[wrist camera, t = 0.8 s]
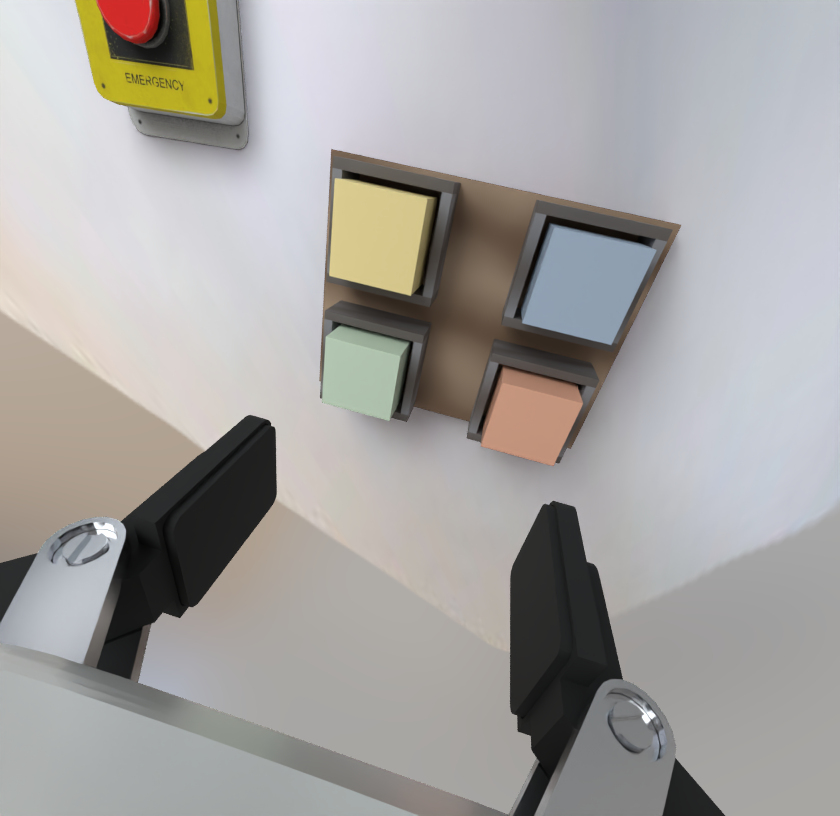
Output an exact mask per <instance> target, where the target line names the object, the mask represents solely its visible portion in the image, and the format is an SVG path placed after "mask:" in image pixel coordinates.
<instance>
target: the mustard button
mask: <svg viewBox="0 0 840 816" xmlns="http://www.w3.org/2000/svg"><path fill="white" fill-rule="evenodd" d="M437 200H438V198H436V197H432V196H427V195H423V194H418V193H414V192H409V191H405V190H400V189H396V188H391V187H387V186H382V185H378V184H373V183H369V182H364V181H360V180H353V179H339V178H335V183H334V201H333V218H332V236H331V253H330V271H329V276H332V277H336V278H340V279H344V280H348V281H353V282H357V283H361V284H365V285H369V286H373V287H377V288H381V289H385V290H389V291H393V292H397V293H401V294H405V295H410V296H411V295H412V294H413V293H414V292H415V291H416V290H417V289H418V288H419V287H420V286H421V285H422V282H423V276H424V271H425V265H426V260H427V254H428V249H429V244H430V238H431V233H432V227H433V222H434V216H435V211H436V205H437Z"/></svg>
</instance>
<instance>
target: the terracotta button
mask: <svg viewBox="0 0 840 816" xmlns="http://www.w3.org/2000/svg"><path fill="white" fill-rule="evenodd" d="M582 405H583V401H582V398H581V396H580V393H579V390H578V387H577V384H576V383H574V382H570V381H566V380H562V379H558V378H554V377H550V376H546V375H542V374H538V373H534V372H531V371H527V370H523V369H519V368H515V367H511V366H507V365H503V364H502V367H501V370H500V374H499V377H498V380H497V383H496V386H495V389H494V392H493V395H492V398H491V401H490V404H489V407H488V410H487V413H486V416H485V419H484V423H483V432H482V440H481V446H482V447H485V448H489V449H493V450H496V451H500V452H504V453H507V454H511V455H515V456H518V457H522V458H526V459H529V460H533V461H536V462H540V463H544V464H547V465H551V466H554V464H555V461H556V459H557V457H558V455H559V453H560V451H561V449H562V447H563V445H564V443H565V441H566V439H567V436H568V434H569V432H570V430H571V428H572V426H573V424H574V422H575V420H576V418H577V416H578V413H579V411H580V409H581V407H582Z"/></svg>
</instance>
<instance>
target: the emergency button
mask: <svg viewBox="0 0 840 816" xmlns="http://www.w3.org/2000/svg"><path fill="white" fill-rule="evenodd" d="M75 3H76V7H77V11H78V16H79V20H80V24H81V29H82V33H83V37H84V41H85V46H86V50H87V54H88V59H89V63H90V67H91V71H92V76H93V80H94V84H95V86H96V88H97V91H98V92H99V93H100V94H101V96H102V97H103V98H105V99H107V100H109V101H112V102H114V103H116V104H119V105H124V106H127V107H128V110H129V115H130V117H131V120H132V123H133V125H134V126H135V127H136V129H137V130H138V131H139V132H141V133H143V134H146V135H152V136H158V137H164V138H170V139H176V140H182V141H188V142H195V143H201V144H207V145H213V146H219V147H225V148H231V149H242V148H244V147H245V145H246V144H247V142H248V134H249V131H248V118H247V105H246V92H245V79H244V66H243V53H242V40H241V27H240V13H239V0H75Z"/></svg>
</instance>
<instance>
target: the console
mask: <svg viewBox="0 0 840 816" xmlns="http://www.w3.org/2000/svg"><path fill="white" fill-rule="evenodd" d="M335 178H339V179H353V180H360V181H364V182H369V183H373V184H378V185H382V186H387V187H391V188H396V189H400V190H405V191H409V192H414V193H418V194H423V195H427V196H432V197H436V198H438V200H437V205H436V211H435V216H434V222H433V227H432V233H431V238H430V244H429V249H428V254H427V260H426V265H425V271H424V276H423V282H422V285H421V286H420V287H419V288H418V289H417V290H416V291H415V292H414V293H413V294H412V295H411V296H410V295H405V294H401V293H397V292H393V291H389V290H385V289H381V288H377V287H373V286H369V285H365V284H361V283H357V282H353V281H348V280H344V279H340V278H336V277H332V276H329V271H330V253H331V236H332V218H333V201H334V183H335ZM549 223H553V224H558V225H562V226H567V227H571V228H576V229H580V230H585V231H589V232H594V233H598V234H603V235H607V236H612V237H616V238H621V239H625V240H630V241H634V242H638V243H641V244H643V245H646V246H648V247H651V248H653V249H655V250H657V251H656V253H655V255H654V257H653V259H652V261H651V263H650V265H649V267H648V269H647V271H646V274H645V276H644V278H643V280H642V282H641V284H640V286H639V288H638V290H637V292H636V294H635V297H634V299H633V301H632V303H631V305H630V307H629V309H628V311H627V313H626V315H625V317H624V319H623V322H622V324H621V326H620V328H619V330H618V332H617V334H616V336H615V338H614V340H613V342H612V345H609V344H605V343H601V342H597V341H593V340H589V339H585V338H581V337H577V336H572V335H568V334H564V333H560V332H556V331H552V330H548V329H544V328H540V327H536V326H532V325H528V324H524V323H522V314H521V306H522V303H523V300H524V297H525V294H526V291H527V288H528V285H529V282H530V279H531V276H532V273H533V270H534V267H535V264H536V261H537V258H538V255H539V252H540V248H541V245H542V242H543V239H544V236H545V233H546V230H547V227H548V224H549ZM680 227H681V225H679V224H674V223H670V222H665V221H661V220H656V219H651V218H647V217H642V216H637V215H633V214H628V213H624V212H619V211H614V210H610V209H605V208H601V207H596V206H591V205H587V204H582V203H577V202H573V201H568V200H564V199H559V198H554V197H550V196H545V195H541V194H536V193H531V192H527V191H522V190H517V189H513V188H508V187H504V186H499V185H494V184H490V183H485V182H480V181H476V180H471V179H467V178H462V177H457V176H453V175H448V174H444V173H439V172H434V171H430V170H425V169H420V168H416V167H411V166H407V165H402V164H397V163H393V162H388V161H384V160H379V159H374V158H370V157H365V156H360V155H356V154H351V153H347V152H342V151H337V150H333V149H331V167H330V187H329V206H328V225H327V245H326V264H325V284H324V303H323V322H322V342H321V361H320V380H319V381H321V390H320V398H322V393H323V375H324V358H325V340H326V336H327V335H329V334H330V333H331V332H332V331H334V330H335V329H336V328H337V327H339V326H340V325H341V324H347V325H351V326H354V327H358V328H362V329H366V330H370V331H374V332H378V333H382V334H386V335H390V336H394V337H397V338H401V339H405V340H409V341H412V342H411V347H410V352H409V358H408V363H407V369H406V374H405V380H404V385H403V391H402V396H401V400H400V402H399V404H398V406H397V408H396V410H395V411H394V413H393V415H392V417H391V418H395V419H398V420H402V421H406V422H407V420H408V418H409V416H410V414H411V411H412V409H413V407H418V408H422V409H425V410H429V411H433V412H436V413H440V414H444V415H448V416H451V417H455V418H459V419H462V420H466V421H469V427H468V433H467V438H468V439H471V440H475V441H479V442H481V440H482V432H483V423H484V419H485V416H486V413H487V410H488V407H489V404H490V401H491V398H492V395H493V392H494V389H495V386H496V383H497V380H498V377H499V374H500V370H501V367H502V364H503V365H507V366H511V367H515V368H519V369H523V370H527V371H531V372H534V373H538V374H542V375H546V376H550V377H554V378H558V379H562V380H566V381H570V382H574V383H576V384H577V387H578V390H579V393H580V396H581V398H582V401H583V405H582V407H581V409H580V411H579V413H578V416H577V418H576V420H575V422H574V424H573V426H572V428H571V430H570V432H569V434H568V436H567V439H566V441H565V443H564V445H563V447H562V449H561V451H560V453H559V455H558V457H557V459H556V461H555V463H560V461H561V459H562V457H563V454H564V452H565V450H566V448H570V449H571V447H572V445H573V443H574V441H575V439H576V437H577V435H578V433H579V431H580V429H581V427H582V425H583V423H584V421H585V419H586V417H587V415H588V413H589V411H590V409H591V407H592V405H593V403H594V401H595V399H596V397H597V395H598V393H599V391H600V389H601V387H602V385H603V383H604V380H605V378H606V376H607V374H608V372H609V370H610V368H611V366H612V364H613V362H614V360H615V358H616V356H617V354H618V352H619V350H620V348H621V346H622V344H623V342H624V340H625V338H626V336H627V334H628V332H629V330H630V328H631V326H632V324H633V322H634V320H635V318H636V316H637V314H638V312H639V310H640V308H641V306H642V304H643V302H644V300H645V298H646V296H647V294H648V292H649V290H650V288H651V286H652V283H653V281H654V279H655V277H656V275H657V273H658V271H659V269H660V267H661V265H662V263H663V261H664V259H665V257H666V255H667V253H668V251H669V249H670V247H671V245H672V243H673V241H674V239H675V237H676V235H677V233H678V231H679V229H680Z"/></svg>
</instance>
